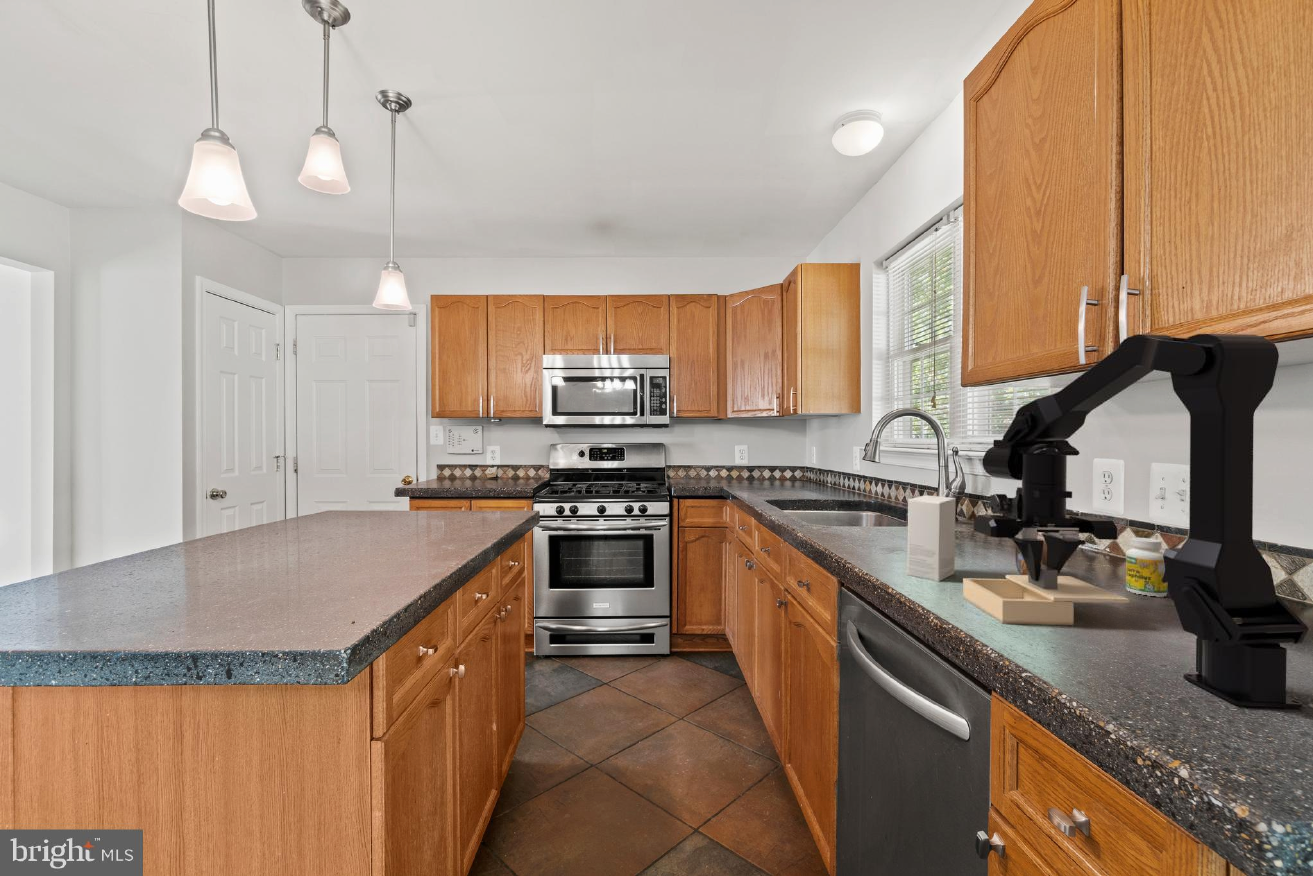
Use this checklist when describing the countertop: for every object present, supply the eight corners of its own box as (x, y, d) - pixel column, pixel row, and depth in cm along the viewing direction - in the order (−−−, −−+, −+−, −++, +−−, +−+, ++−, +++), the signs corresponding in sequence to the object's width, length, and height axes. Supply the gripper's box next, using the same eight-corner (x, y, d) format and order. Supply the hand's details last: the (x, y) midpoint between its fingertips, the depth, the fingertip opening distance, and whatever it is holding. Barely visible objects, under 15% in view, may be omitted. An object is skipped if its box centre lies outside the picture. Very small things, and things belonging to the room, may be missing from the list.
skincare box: (923, 568, 111) (924, 494, 111) (957, 575, 106) (958, 497, 106) (905, 575, 106) (905, 498, 105) (940, 582, 101) (940, 501, 100)
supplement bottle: (1174, 596, 92) (1175, 541, 92) (1153, 599, 91) (1154, 543, 90) (1138, 587, 97) (1139, 535, 97) (1118, 590, 96) (1118, 537, 96)
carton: (1073, 625, 78) (1073, 602, 78) (1002, 623, 79) (1002, 600, 79) (1024, 600, 90) (1024, 579, 90) (963, 598, 91) (963, 578, 91)
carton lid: (1128, 602, 77) (1128, 578, 77) (1053, 600, 78) (1053, 577, 78) (1070, 579, 90) (1070, 558, 90) (1005, 577, 91) (1005, 557, 90)
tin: (1013, 569, 111) (1013, 529, 111) (1031, 570, 110) (1031, 530, 110) (1038, 589, 97) (1039, 543, 96) (1059, 591, 96) (1059, 544, 95)
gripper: (1070, 479, 91) (1069, 569, 91) (957, 478, 93) (957, 566, 93) (1121, 485, 80) (1120, 587, 80) (993, 484, 82) (992, 584, 82)
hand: (1042, 580), depth 84 cm, fingers closed on carton lid, 2 cm apart
